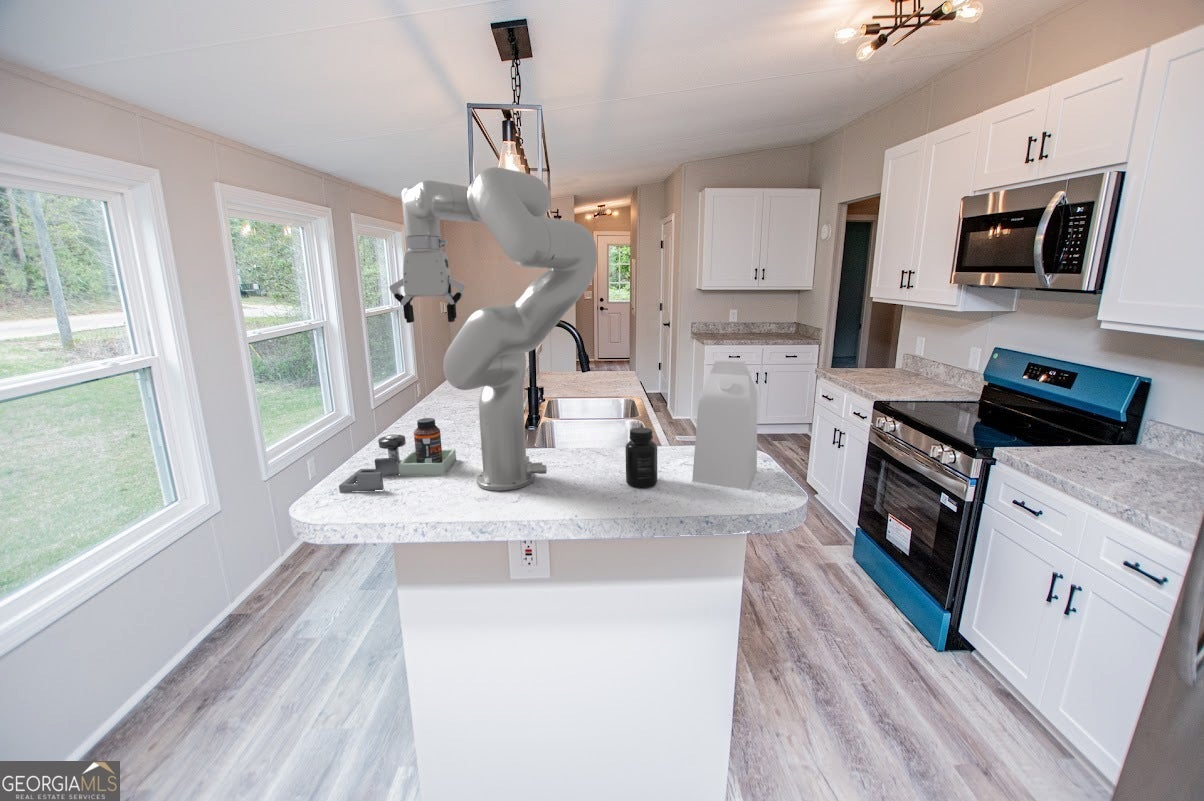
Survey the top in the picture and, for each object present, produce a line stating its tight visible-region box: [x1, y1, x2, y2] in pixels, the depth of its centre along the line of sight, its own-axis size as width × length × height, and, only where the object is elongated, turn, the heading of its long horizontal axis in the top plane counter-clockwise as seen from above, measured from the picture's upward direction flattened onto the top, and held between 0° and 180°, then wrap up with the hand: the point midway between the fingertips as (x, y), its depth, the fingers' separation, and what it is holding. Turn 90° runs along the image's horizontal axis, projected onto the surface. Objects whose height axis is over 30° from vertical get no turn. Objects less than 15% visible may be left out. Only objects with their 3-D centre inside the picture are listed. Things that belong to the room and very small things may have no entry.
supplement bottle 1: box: [413, 417, 443, 463], centre depth 120 cm, size 6×6×11 cm
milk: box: [691, 359, 758, 491], centre depth 110 cm, size 12×12×26 cm
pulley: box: [377, 433, 407, 464], centre depth 122 cm, size 6×6×8 cm
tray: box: [399, 449, 457, 477], centre depth 121 cm, size 10×10×3 cm
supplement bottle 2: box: [624, 426, 658, 489], centre depth 108 cm, size 7×7×12 cm
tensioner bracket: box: [338, 457, 400, 493], centre depth 112 cm, size 9×10×4 cm
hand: (431, 322), depth 118 cm, fingers open, 9 cm apart
